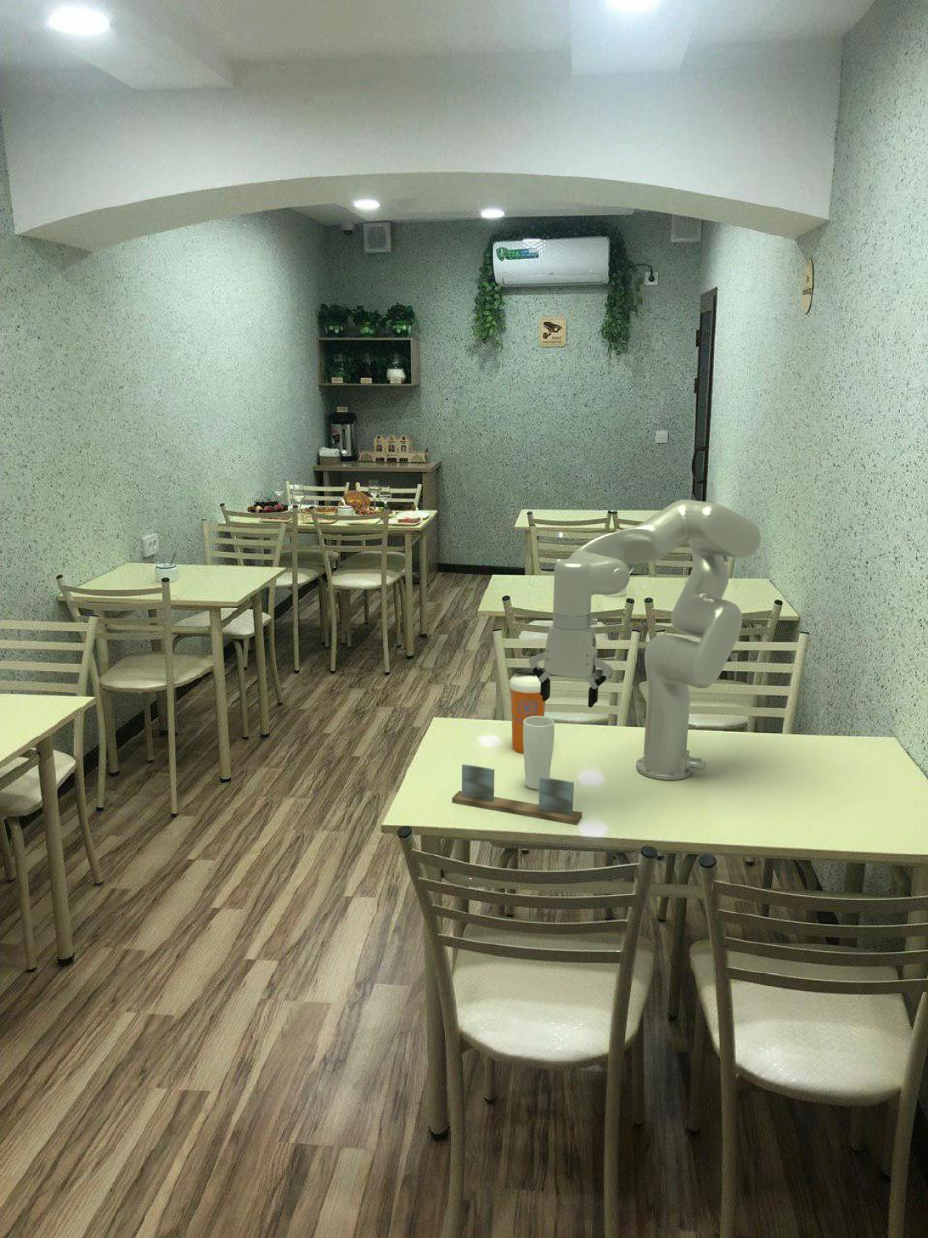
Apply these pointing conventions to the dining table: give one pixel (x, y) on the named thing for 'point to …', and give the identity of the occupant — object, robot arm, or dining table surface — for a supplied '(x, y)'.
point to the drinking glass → (537, 749)
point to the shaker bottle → (524, 703)
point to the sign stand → (551, 801)
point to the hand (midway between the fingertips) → (568, 702)
